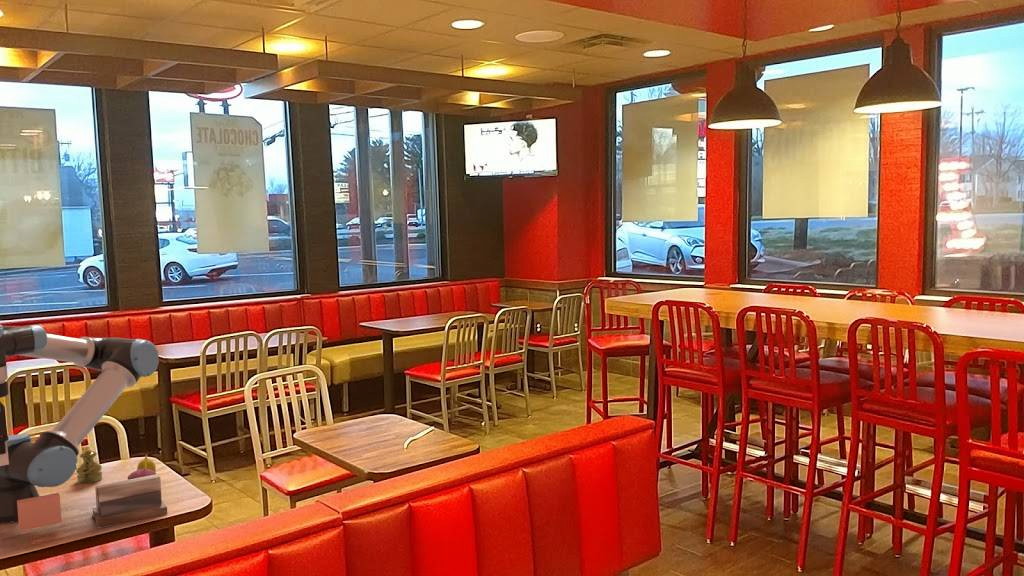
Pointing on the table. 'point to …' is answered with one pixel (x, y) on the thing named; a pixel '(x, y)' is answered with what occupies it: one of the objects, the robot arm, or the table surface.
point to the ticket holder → (128, 501)
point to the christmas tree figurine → (89, 469)
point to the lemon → (149, 465)
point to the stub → (39, 511)
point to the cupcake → (142, 472)
